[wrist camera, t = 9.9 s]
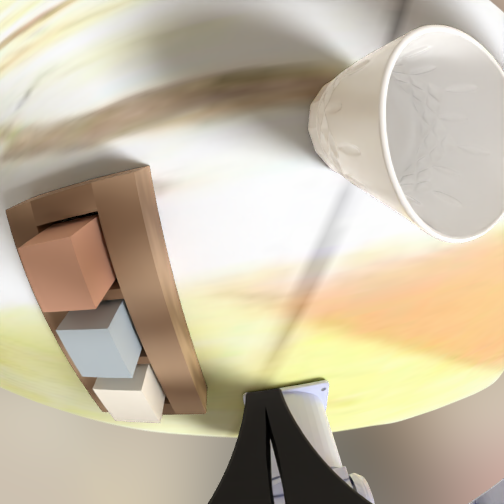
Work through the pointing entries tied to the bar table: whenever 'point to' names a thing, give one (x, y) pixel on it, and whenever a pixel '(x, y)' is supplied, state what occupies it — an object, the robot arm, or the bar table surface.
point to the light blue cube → (102, 340)
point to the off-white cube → (133, 396)
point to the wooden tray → (128, 276)
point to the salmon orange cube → (69, 265)
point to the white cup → (420, 130)
